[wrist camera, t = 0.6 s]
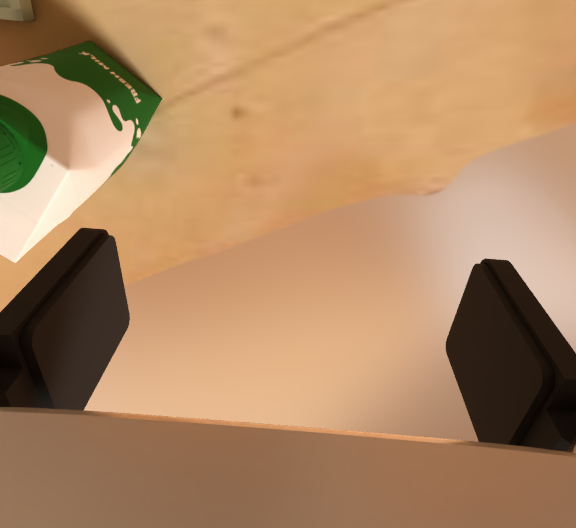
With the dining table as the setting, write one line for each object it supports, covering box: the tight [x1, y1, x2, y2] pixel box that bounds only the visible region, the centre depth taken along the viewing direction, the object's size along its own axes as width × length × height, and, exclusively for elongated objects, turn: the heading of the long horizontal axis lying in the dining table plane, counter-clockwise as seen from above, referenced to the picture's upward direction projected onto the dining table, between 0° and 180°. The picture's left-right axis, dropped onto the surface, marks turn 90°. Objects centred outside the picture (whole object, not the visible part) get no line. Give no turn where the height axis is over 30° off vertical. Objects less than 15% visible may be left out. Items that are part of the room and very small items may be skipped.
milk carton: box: [0, 41, 162, 263], centre depth 29 cm, size 9×9×20 cm
